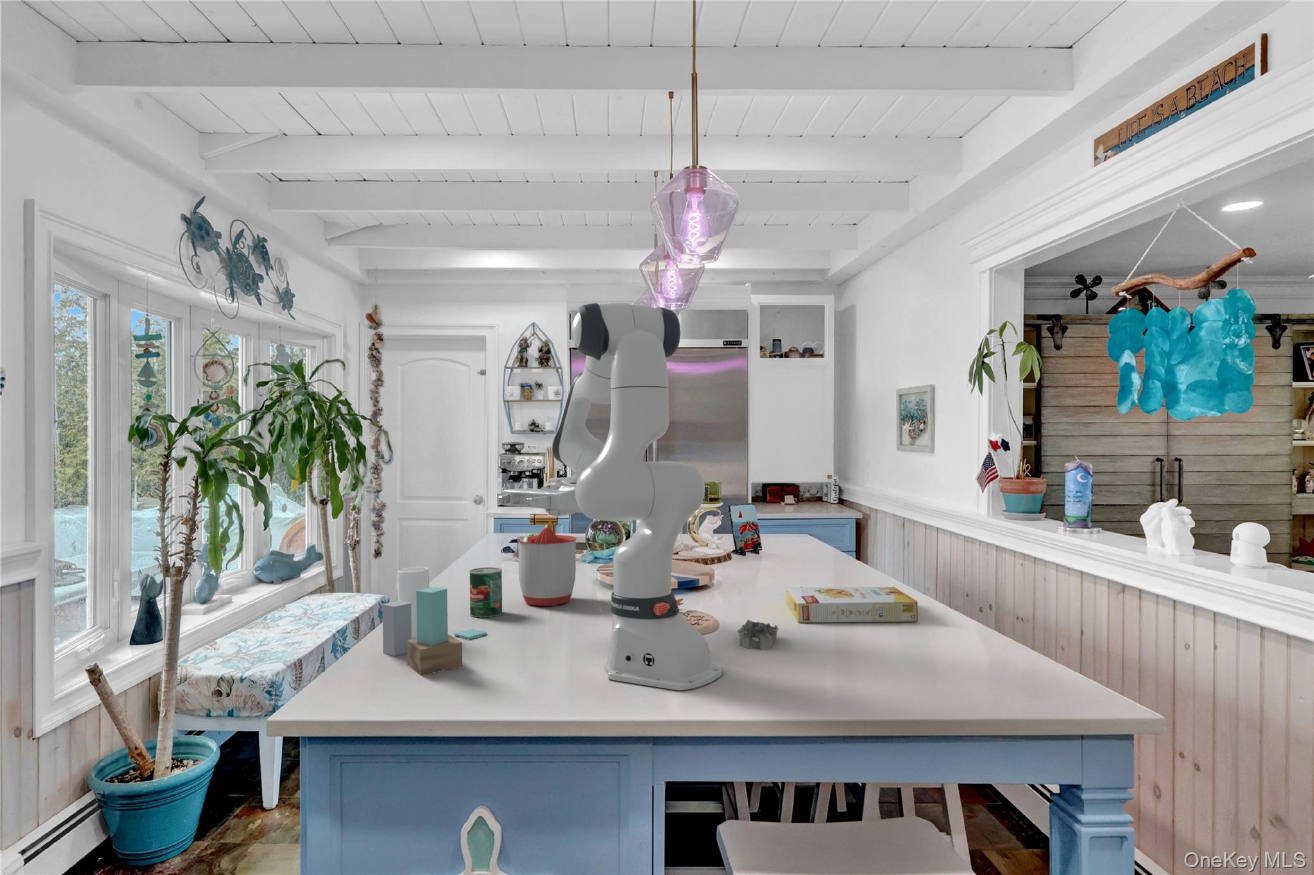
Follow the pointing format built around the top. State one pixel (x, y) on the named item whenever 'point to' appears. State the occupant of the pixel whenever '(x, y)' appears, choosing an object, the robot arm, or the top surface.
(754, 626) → the egg carton
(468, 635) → the tile
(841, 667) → the top surface
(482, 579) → the canned tomato
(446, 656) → the base block
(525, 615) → the top surface
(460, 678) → the top surface
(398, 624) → the grey block
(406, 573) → the drinking glass
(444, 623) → the teal block
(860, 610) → the cereal box
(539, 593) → the citrus juicer
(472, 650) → the top surface
